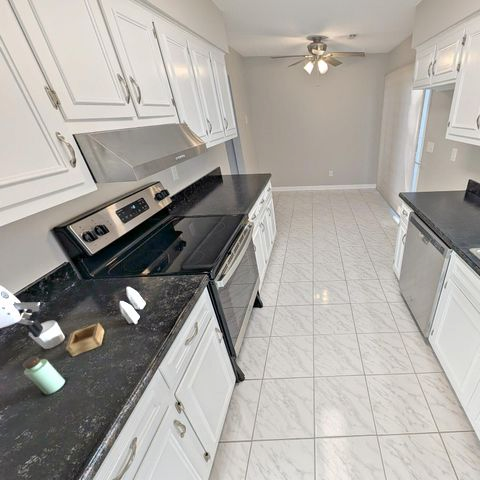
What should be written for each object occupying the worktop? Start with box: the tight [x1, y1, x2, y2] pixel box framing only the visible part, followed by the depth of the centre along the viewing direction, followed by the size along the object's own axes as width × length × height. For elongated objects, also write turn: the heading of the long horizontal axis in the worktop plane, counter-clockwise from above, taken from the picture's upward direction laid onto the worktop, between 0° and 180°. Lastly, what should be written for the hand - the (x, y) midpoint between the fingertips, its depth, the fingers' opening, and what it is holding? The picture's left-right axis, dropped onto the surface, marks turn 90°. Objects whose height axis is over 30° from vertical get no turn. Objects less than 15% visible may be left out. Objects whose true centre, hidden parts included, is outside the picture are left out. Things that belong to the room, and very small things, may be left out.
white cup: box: [28, 320, 66, 350], centre depth 86 cm, size 7×7×7 cm
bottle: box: [22, 355, 66, 395], centre depth 70 cm, size 5×5×12 cm
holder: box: [65, 322, 105, 357], centre depth 85 cm, size 8×8×4 cm
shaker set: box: [118, 286, 146, 325], centre depth 95 cm, size 12×4×11 cm, turn 12°
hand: (14, 342), depth 64 cm, fingers open, 9 cm apart
